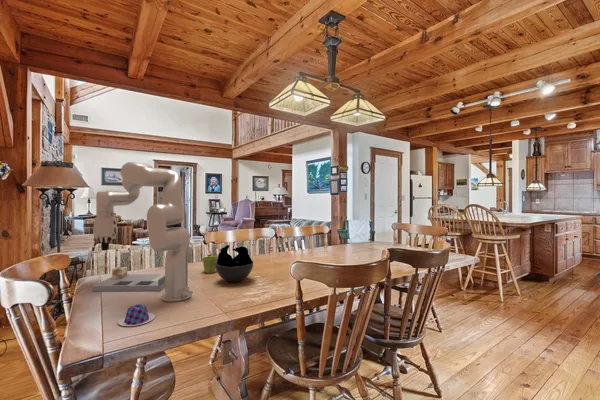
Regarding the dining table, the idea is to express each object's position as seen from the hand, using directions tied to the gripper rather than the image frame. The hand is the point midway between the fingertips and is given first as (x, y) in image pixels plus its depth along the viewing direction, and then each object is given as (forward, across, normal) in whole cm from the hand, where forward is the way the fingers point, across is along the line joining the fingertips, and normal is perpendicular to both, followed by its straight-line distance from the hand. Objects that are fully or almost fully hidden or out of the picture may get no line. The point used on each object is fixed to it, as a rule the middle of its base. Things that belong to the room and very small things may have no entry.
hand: (105, 250), depth 156 cm
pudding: (+18, -40, +48) cm, 65 cm away
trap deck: (+17, -18, +4) cm, 26 cm away
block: (+15, -8, 0) cm, 16 cm away
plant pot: (+17, -49, -20) cm, 56 cm away
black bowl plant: (+17, -67, -1) cm, 69 cm away
